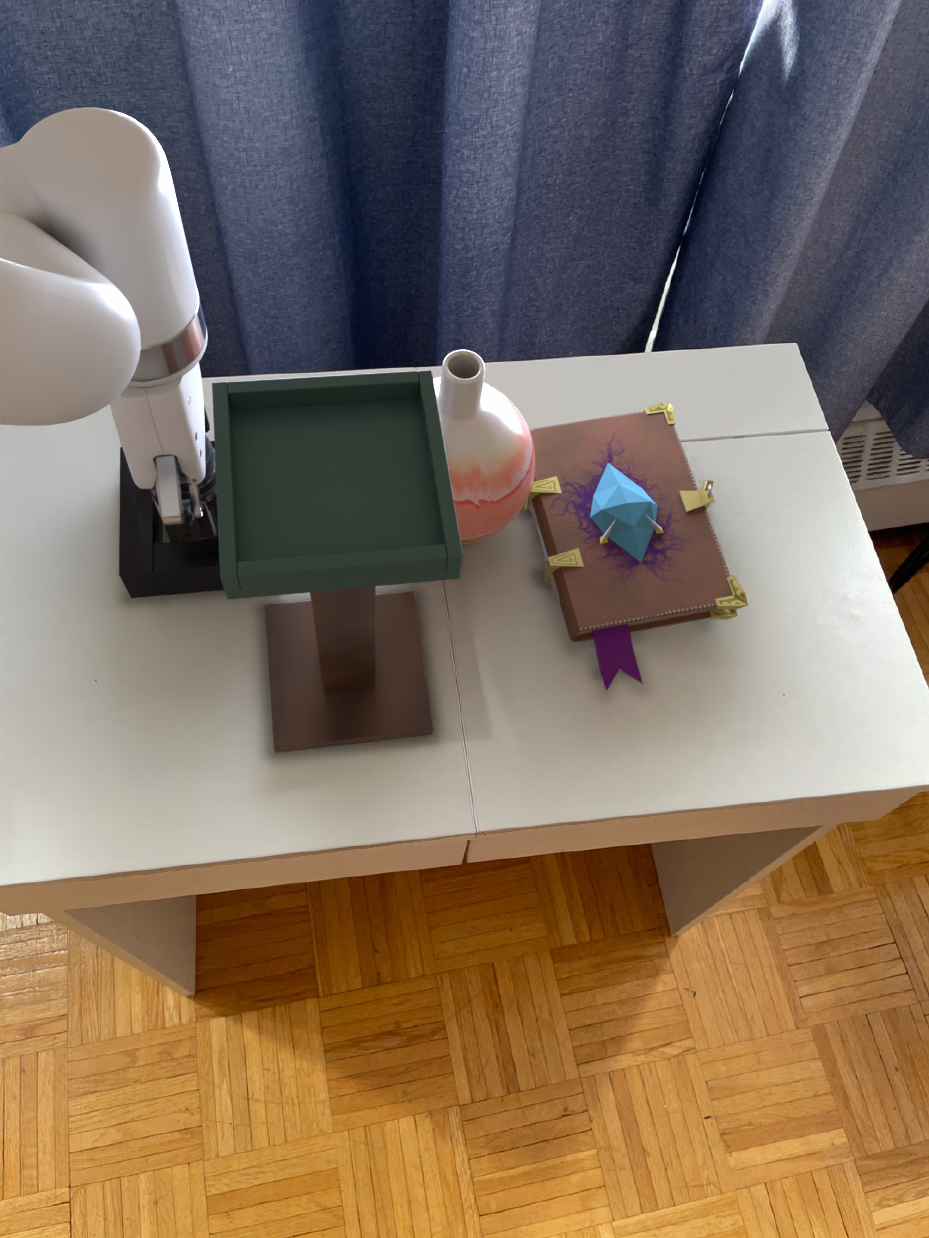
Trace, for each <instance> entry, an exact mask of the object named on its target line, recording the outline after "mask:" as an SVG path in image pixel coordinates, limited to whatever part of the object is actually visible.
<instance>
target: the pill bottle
mask: <svg viewBox="0 0 929 1238" xmlns="http://www.w3.org/2000/svg"><path fill="white" fill-rule="evenodd" d="M206 434H207V433H205V465H206V472H205V478H204V479H203V481H202V482H201V483H199V491H200V497H201V502H204V503H206V505H207V508H208V511H209V515H210V518H211V521H212V524H213V528H214V536H213V537H210V538H201V539H212V538H219V536H218V512H217V489H216V465H215V449H213V447H212V444H211V441H212V440H211V439H210V438H209V437H208V435H206ZM178 469H179V473H180V472H182V470H181V467H180V464H179V463H178ZM180 488H181V498H182V500H191V496H190V489H189V484H186V485H180ZM149 490H150V492H151V495H152V497H153V500H154V502H155V505H156V507H157V509H158V512H159V514H160V508H159V502H158V496H157V491H156V485H155V484H154V487H153V488H152V489H149ZM160 517H161V514H160ZM161 519H162V518H161ZM162 521H163V520H162ZM163 528H164V529H165V532H166V534H167V537H168V539H169V542H175V541H181V540H172V539H170V537H169V534H168V532H167V529H166V526H165V525H164V524H163Z"/></svg>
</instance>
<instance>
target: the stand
mask: <svg viewBox="0 0 929 1238" xmlns="http://www.w3.org/2000/svg"><path fill="white" fill-rule="evenodd" d="M376 587H377V586H375V587H364V588H353V589H342V590H331V591H320V592H309V596H310V600H301V601H289V602H281V603H280V602H279V603H271V604H269V603H268V604H264V615H265V618H264V619H265V630H266V631H265V633H266V648H267V663H268V678H269V694H270V695H269V696H270V709H271V721H272V722H271V723H272V724H271V726H272V740H273V751H274V752H275V753H276V754H277V753H287V752H295V751H303V750H313V749H321V748H331V747H340V746H347V745H355V744H366V743H374V742H382V741H391V740H400V739H409V738H417V737H426V736H427V737H428V736H433V735H434V722H433V716H432V715H433V714H432V709H431V701H430V700H431V699H430V694H429V687H428V679H427V673H426V667H425V666H426V665H425V658H424V652H423V645H422V644H423V643H422V637H421V630H420V623H419V615H418V610H417V602H416V601H417V600H416V594H415V590H411V591H399V592H389V593H388V592H387V593H378V594H377V592H376Z"/></svg>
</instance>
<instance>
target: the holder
mask: <svg viewBox="0 0 929 1238" xmlns="http://www.w3.org/2000/svg"><path fill="white" fill-rule="evenodd" d="M210 441H211V444H212V447H213V449H215V442H214V440H210ZM118 515H119V516H118V517H119V520H118V521H119V522H118V523H119V525H118V529H119V531H118V576H119V578H120V580H121V582H122V583H123V586H124V588H125V589H126V591H127V593H128V595H129V597H130V599H141V598H152V597H162V596H174V595H185V594H186V595H187V594H196V593H197V594H198V593H209V592H219V591H225V590H224V587H223V584H222V581H221V577H220V559H219V538H212V539H200V540H198V541H193V542H184V541H175V542H171V541H165V542H164V524H163V522H162V519H161V517H160V514H159V512H158V509H157V507H156V505H155V502H154V500H153V497H152V495H151V492H150V490H149V489H141V488H139V487H138V486H137V485H136V484H135V483H134V480H133V478H132V475H131V472H130V469H129V466H128V463H127V460H126V457H125V454H124V451H123V448H122V446H120V447H119V514H118Z"/></svg>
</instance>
